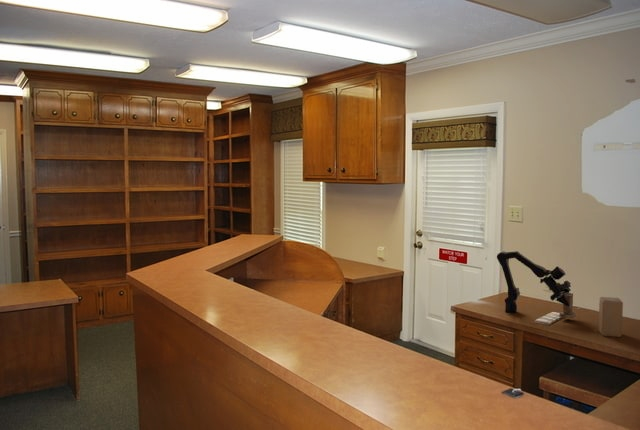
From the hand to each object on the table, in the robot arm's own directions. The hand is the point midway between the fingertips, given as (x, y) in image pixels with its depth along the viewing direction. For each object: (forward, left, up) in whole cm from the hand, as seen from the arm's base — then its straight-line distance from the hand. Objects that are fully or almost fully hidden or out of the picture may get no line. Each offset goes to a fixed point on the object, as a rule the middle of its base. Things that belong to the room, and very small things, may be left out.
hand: (570, 305), depth 314 cm
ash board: (-11, 0, -10) cm, 15 cm away
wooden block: (+18, -22, -10) cm, 30 cm away
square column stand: (-1, +1, -7) cm, 7 cm away
